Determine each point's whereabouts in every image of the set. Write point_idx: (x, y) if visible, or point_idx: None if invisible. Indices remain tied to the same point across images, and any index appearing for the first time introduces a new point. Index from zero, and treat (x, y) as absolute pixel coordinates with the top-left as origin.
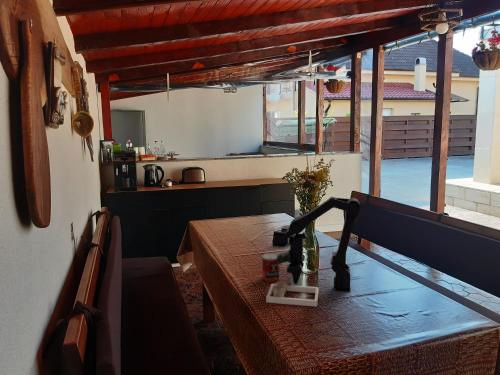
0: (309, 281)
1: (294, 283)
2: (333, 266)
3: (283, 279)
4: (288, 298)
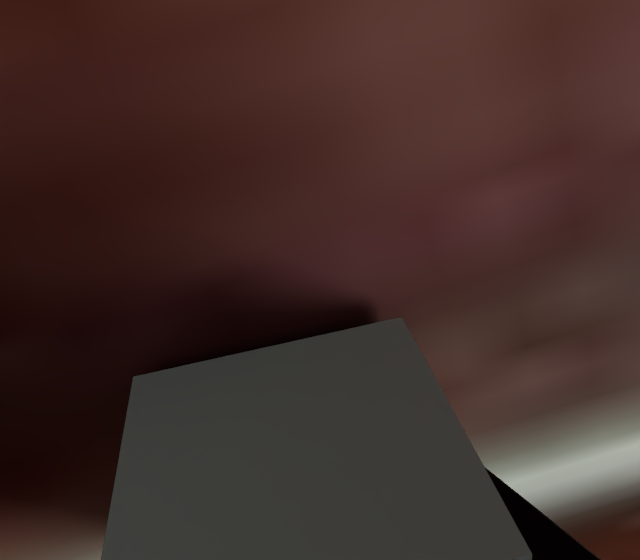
0: None
1: None
2: None
3: (613, 10)
4: None
